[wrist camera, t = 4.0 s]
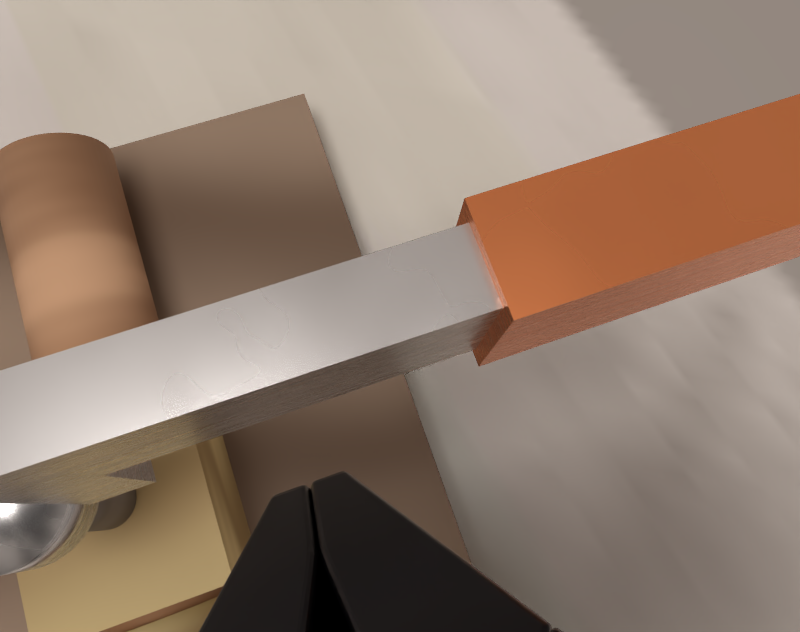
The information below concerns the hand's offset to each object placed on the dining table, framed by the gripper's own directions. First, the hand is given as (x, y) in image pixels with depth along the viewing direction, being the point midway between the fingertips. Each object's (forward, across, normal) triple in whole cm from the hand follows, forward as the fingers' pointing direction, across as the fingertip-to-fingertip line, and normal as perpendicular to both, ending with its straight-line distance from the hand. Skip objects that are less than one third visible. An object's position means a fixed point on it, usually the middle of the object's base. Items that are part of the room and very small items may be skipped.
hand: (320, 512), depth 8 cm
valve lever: (+4, +1, -1) cm, 4 cm away
